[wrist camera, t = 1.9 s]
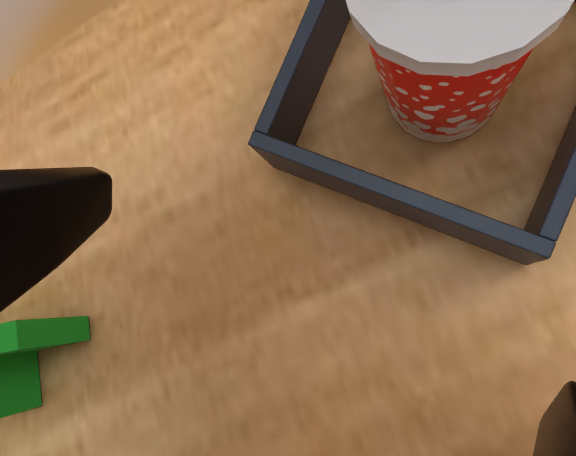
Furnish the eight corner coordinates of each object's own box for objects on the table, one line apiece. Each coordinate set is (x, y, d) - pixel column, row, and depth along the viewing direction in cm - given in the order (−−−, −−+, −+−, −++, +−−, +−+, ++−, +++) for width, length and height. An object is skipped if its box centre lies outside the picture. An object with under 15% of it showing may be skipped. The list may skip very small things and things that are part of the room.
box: (527, 265, 19) (550, 259, 16) (272, 166, 23) (246, 143, 19) (637, 1, 20) (682, -59, 16) (370, -60, 23) (362, -122, 19)
